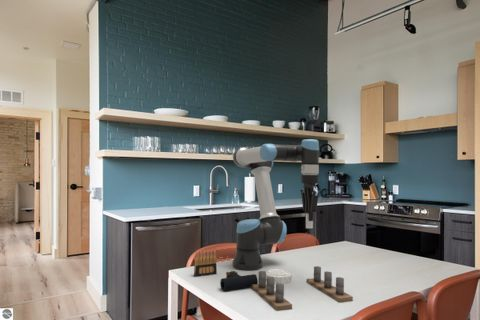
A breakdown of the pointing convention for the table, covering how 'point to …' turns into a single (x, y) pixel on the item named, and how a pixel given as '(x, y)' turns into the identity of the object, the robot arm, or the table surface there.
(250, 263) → the robot arm
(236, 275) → the pipe connector
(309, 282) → the rails
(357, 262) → the table surface
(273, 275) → the mooncake
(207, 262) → the ammunition clip
